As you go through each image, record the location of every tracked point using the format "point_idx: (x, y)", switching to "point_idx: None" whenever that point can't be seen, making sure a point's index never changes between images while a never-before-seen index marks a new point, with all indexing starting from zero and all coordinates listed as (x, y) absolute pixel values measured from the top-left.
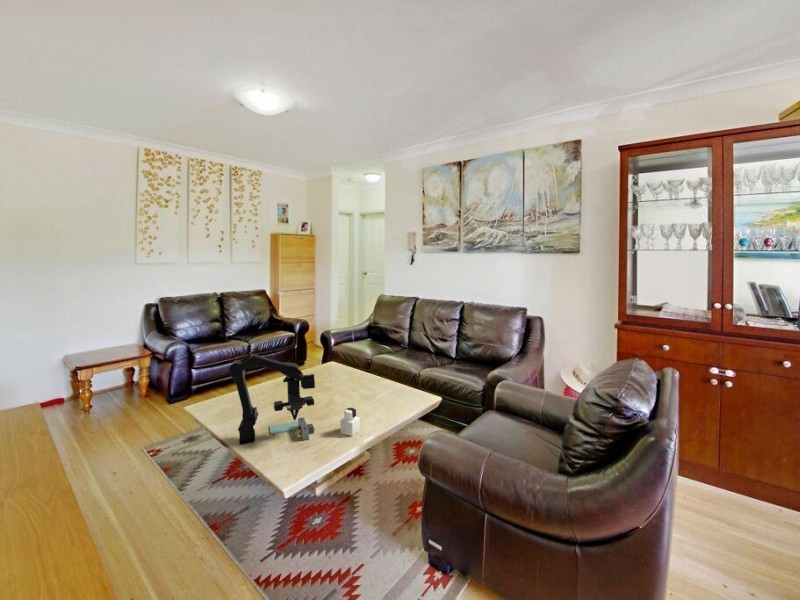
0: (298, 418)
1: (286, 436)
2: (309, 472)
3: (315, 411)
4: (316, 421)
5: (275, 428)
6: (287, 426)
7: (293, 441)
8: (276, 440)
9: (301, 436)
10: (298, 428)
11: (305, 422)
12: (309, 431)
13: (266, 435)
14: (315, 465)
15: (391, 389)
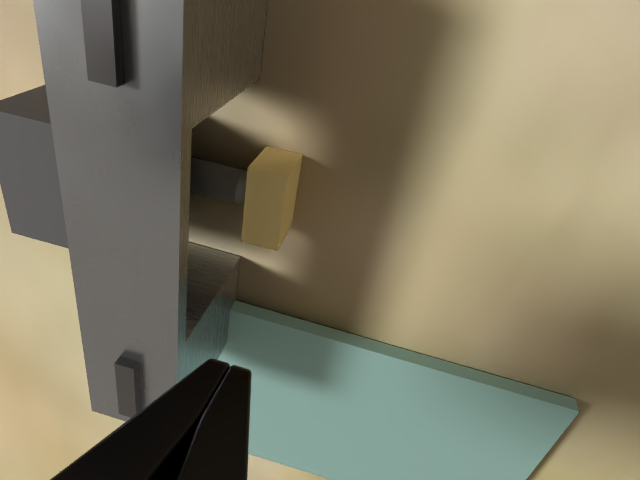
0: None
1: (438, 239)
2: None
3: (30, 459)
4: (25, 322)
5: (464, 458)
6: (331, 414)
7: (423, 12)
8: (622, 225)
9: (255, 68)
10: (232, 308)
11: (75, 264)
12: None
13: (629, 412)
14: None
15: None
